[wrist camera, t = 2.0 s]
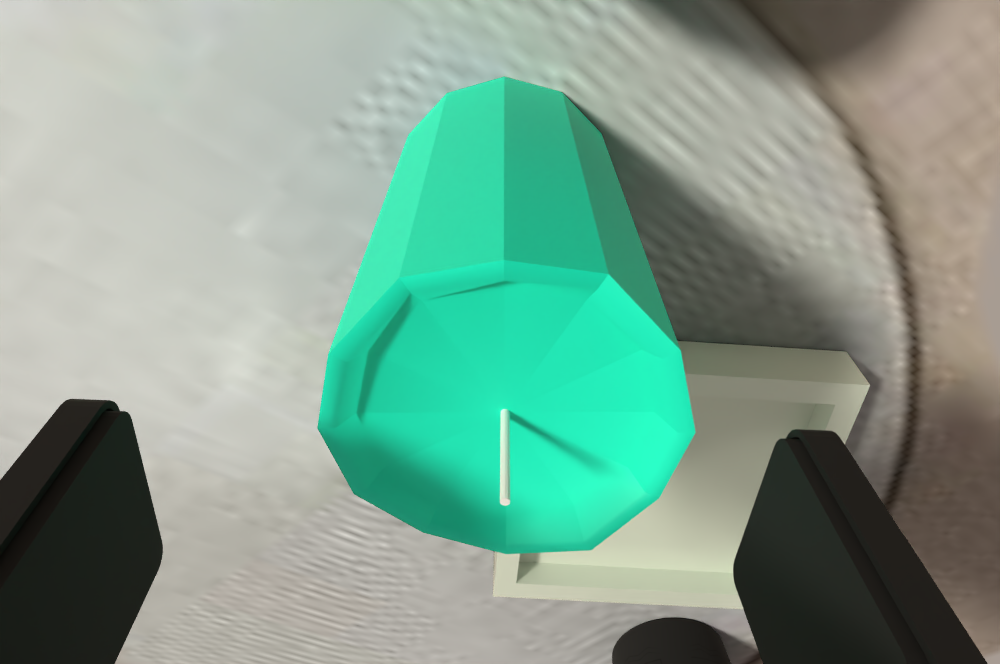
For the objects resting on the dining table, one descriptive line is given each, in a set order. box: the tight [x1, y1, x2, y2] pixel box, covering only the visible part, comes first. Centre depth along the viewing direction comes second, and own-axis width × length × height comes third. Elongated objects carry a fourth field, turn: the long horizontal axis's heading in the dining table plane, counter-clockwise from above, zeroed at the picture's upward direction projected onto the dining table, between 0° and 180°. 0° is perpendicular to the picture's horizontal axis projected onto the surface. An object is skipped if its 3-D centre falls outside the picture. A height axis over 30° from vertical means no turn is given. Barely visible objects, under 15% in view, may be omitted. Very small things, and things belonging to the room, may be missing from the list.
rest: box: [493, 341, 870, 609], centre depth 25 cm, size 11×11×2 cm
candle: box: [318, 77, 696, 554], centre depth 15 cm, size 6×6×12 cm
